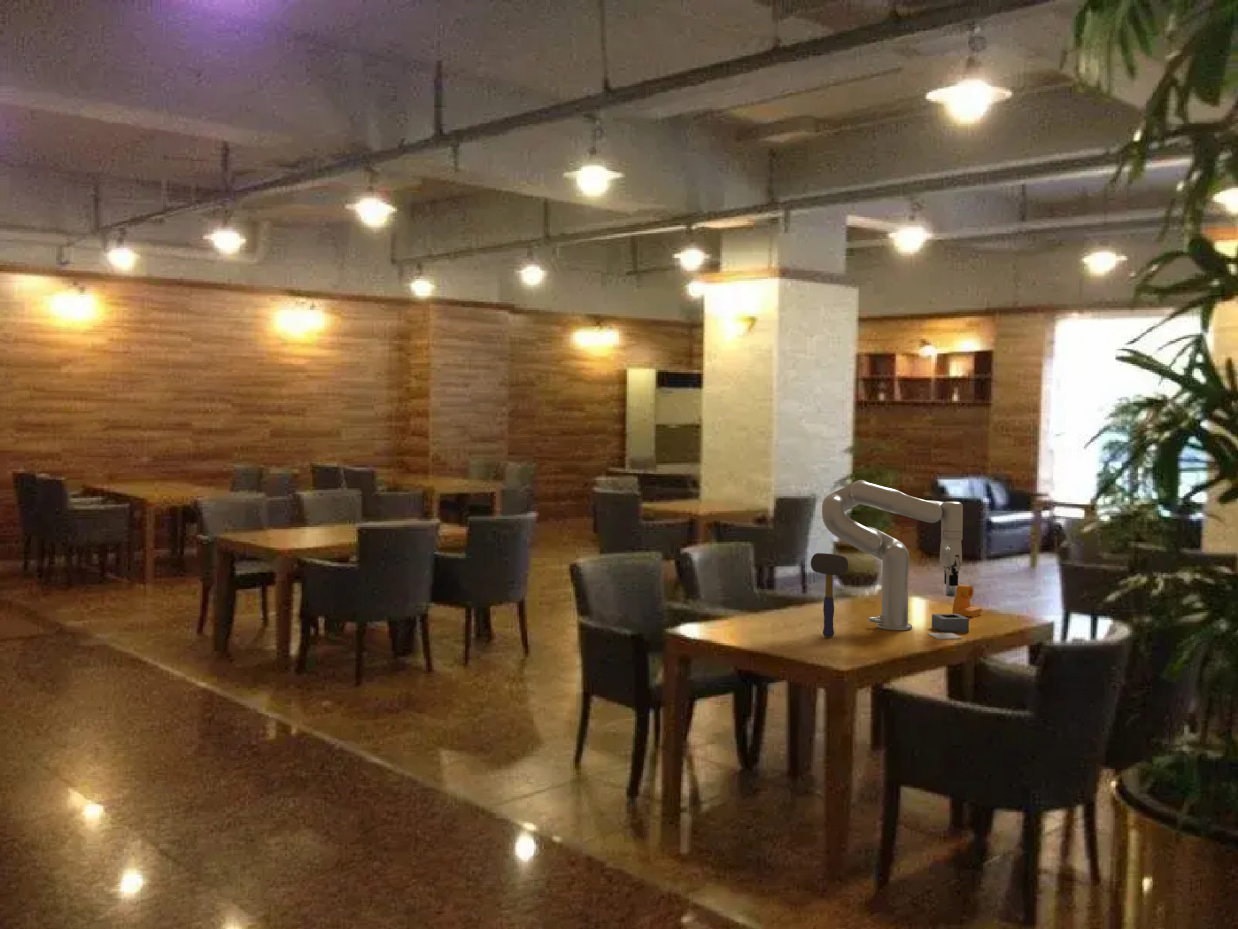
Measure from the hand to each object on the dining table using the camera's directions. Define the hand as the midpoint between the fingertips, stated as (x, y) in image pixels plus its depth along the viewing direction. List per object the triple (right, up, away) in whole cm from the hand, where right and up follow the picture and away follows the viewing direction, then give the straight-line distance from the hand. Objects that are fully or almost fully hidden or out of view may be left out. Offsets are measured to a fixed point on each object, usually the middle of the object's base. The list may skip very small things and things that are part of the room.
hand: (951, 584), depth 425 cm
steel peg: (0, -4, 0) cm, 4 cm away
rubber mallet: (-48, -18, -14) cm, 53 cm away
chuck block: (0, -17, +1) cm, 17 cm away
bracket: (+15, -16, +31) cm, 38 cm away
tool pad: (-6, -17, -12) cm, 22 cm away
